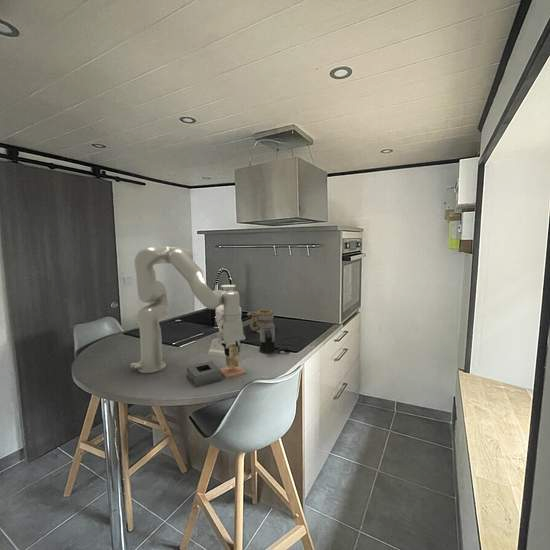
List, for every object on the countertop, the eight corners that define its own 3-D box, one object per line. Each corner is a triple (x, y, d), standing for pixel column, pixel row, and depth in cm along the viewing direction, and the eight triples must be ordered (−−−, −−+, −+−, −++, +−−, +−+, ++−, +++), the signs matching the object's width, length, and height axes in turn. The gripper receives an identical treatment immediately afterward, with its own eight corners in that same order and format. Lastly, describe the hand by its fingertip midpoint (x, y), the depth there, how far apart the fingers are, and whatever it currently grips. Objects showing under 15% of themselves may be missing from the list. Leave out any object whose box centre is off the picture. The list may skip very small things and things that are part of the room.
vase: (211, 343, 185) (210, 286, 181) (223, 335, 201) (222, 283, 197) (234, 346, 180) (234, 288, 176) (245, 337, 196) (245, 284, 192)
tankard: (268, 327, 219) (268, 307, 218) (277, 332, 208) (277, 310, 207) (243, 331, 210) (243, 310, 208) (250, 336, 199) (250, 314, 197)
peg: (229, 368, 142) (229, 348, 141) (226, 365, 146) (225, 345, 144) (238, 366, 144) (238, 346, 143) (234, 363, 148) (234, 343, 147)
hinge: (207, 354, 168) (210, 335, 170) (211, 354, 172) (214, 336, 174) (234, 357, 162) (237, 339, 165) (238, 357, 167) (240, 339, 169)
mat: (226, 378, 138) (226, 376, 138) (218, 370, 147) (218, 368, 147) (246, 373, 144) (246, 371, 144) (237, 365, 152) (237, 364, 152)
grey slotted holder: (194, 387, 130) (194, 376, 129) (187, 376, 140) (186, 366, 139) (221, 380, 136) (221, 370, 135) (211, 370, 146) (211, 361, 146)
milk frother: (256, 349, 176) (256, 324, 174) (280, 345, 183) (280, 321, 181) (266, 357, 163) (267, 331, 161) (292, 353, 170) (292, 327, 168)
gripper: (217, 321, 135) (218, 360, 137) (251, 316, 143) (251, 353, 146) (211, 317, 141) (212, 355, 143) (244, 313, 150) (244, 348, 152)
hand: (232, 354), depth 144 cm, fingers closed on peg, 4 cm apart
